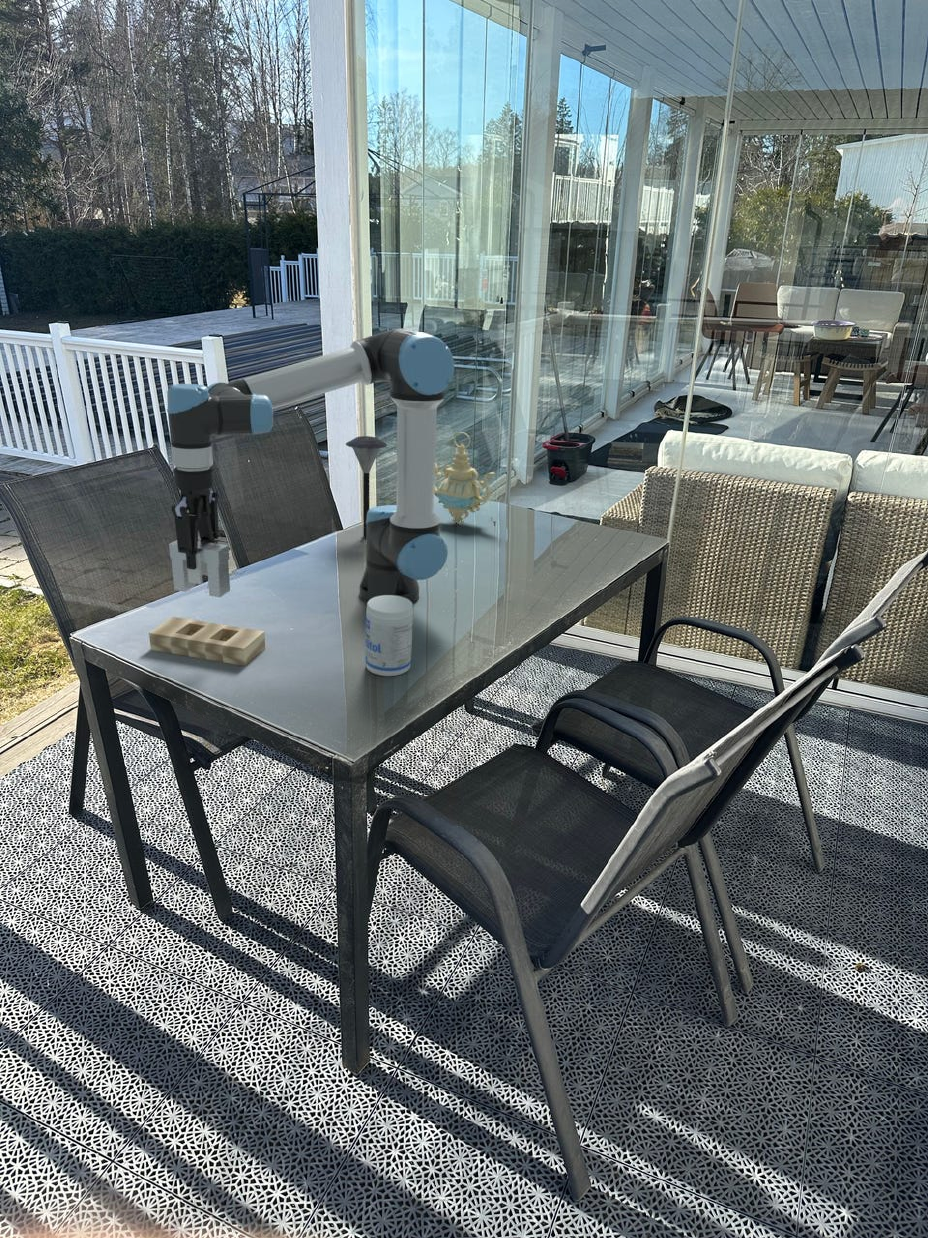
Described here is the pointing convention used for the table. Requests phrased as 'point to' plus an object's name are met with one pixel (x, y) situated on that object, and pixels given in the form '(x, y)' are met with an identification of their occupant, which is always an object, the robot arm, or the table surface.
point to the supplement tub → (388, 635)
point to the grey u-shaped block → (216, 567)
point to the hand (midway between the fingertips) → (201, 578)
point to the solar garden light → (366, 465)
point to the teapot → (461, 486)
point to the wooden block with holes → (207, 641)
